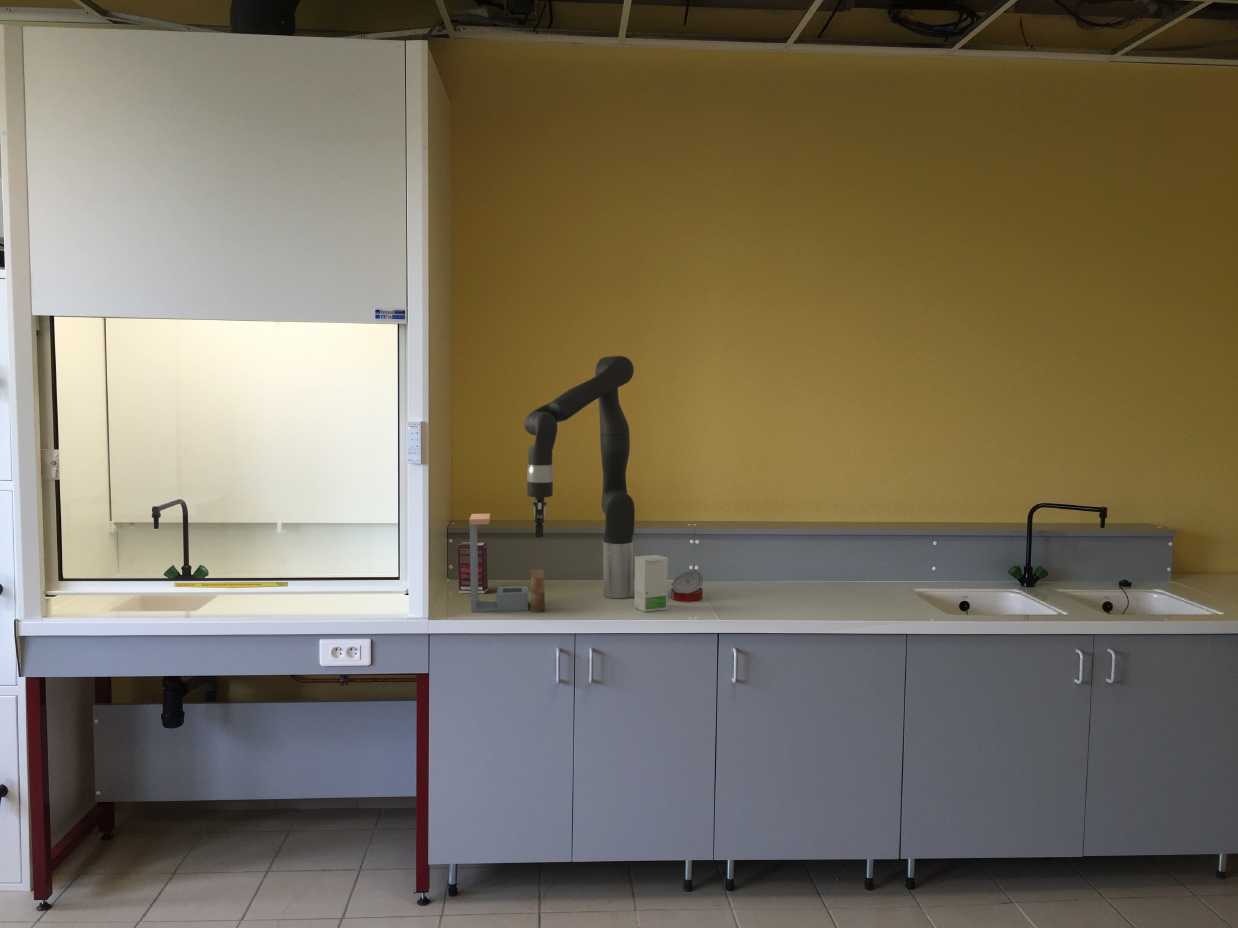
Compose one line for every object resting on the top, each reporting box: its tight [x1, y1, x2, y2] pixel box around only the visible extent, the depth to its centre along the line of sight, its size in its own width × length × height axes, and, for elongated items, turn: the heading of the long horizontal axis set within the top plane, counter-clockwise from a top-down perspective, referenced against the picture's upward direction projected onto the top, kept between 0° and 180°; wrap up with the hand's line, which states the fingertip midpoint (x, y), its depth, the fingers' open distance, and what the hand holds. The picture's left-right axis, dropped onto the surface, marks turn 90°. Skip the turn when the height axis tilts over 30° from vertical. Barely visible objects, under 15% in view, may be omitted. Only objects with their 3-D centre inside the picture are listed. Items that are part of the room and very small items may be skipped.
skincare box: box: [634, 554, 669, 613], centre depth 244 cm, size 8×7×16 cm
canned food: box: [670, 569, 704, 603], centre depth 257 cm, size 11×10×10 cm
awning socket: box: [468, 513, 529, 613], centre depth 246 cm, size 16×11×28 cm, turn 96°
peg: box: [530, 569, 546, 614], centre depth 242 cm, size 4×4×12 cm
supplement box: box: [457, 541, 489, 594], centre depth 265 cm, size 9×5×16 cm, turn 84°
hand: (539, 534), depth 242 cm, fingers open, 8 cm apart
